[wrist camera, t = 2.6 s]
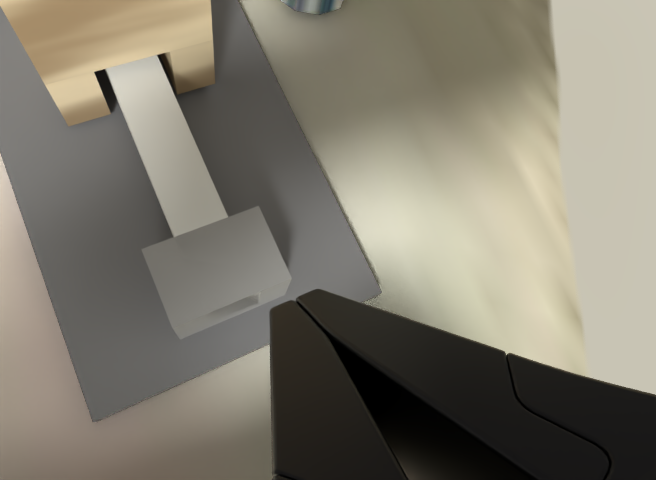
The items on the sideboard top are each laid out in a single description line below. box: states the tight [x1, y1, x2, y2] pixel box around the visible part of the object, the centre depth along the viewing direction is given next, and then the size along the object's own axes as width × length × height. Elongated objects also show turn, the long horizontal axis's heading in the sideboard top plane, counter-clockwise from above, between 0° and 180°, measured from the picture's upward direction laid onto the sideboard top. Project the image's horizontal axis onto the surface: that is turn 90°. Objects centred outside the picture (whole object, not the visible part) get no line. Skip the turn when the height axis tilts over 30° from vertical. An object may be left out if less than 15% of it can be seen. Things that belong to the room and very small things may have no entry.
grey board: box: [0, 0, 382, 422], centre depth 23 cm, size 30×12×4 cm, turn 25°
